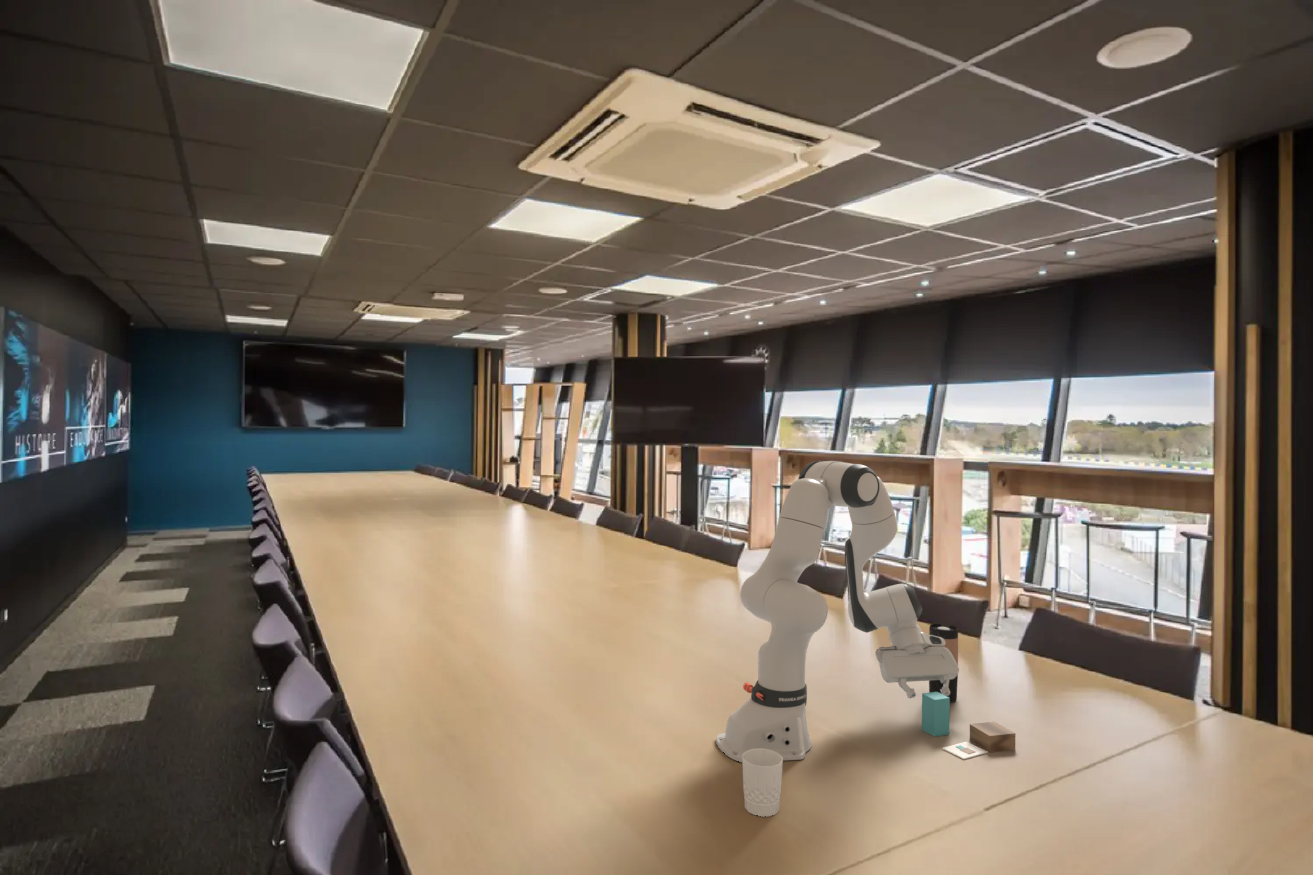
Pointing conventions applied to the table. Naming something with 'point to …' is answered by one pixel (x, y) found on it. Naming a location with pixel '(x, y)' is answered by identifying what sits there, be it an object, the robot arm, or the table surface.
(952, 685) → the travel mug
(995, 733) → the walnut brick
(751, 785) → the white cup
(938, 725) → the teal brick
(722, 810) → the table surface
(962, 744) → the page
